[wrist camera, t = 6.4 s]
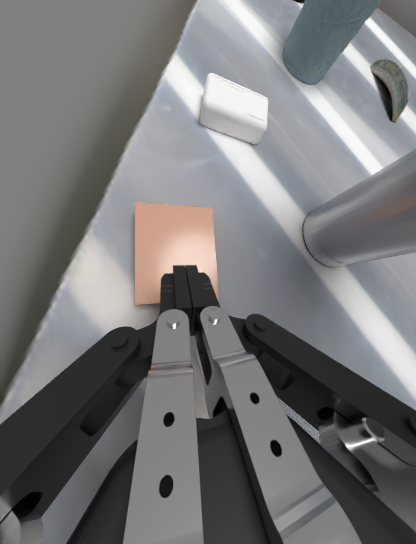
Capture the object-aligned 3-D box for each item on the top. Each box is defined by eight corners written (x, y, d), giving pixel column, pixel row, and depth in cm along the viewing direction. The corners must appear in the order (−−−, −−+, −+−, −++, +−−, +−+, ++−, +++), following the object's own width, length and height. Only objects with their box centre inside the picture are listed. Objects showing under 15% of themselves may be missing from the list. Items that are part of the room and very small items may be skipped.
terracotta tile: (218, 298, 16) (212, 208, 18) (135, 304, 14) (134, 202, 16) (212, 298, 19) (206, 218, 20) (139, 303, 17) (139, 214, 18)
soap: (198, 126, 22) (202, 101, 19) (203, 96, 23) (208, 67, 20) (256, 148, 24) (269, 128, 21) (259, 119, 25) (270, 96, 22)
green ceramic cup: (298, 35, 30) (379, -125, 19) (333, 77, 31) (432, -53, 19) (268, 52, 27) (341, -124, 16) (307, 98, 28) (404, -40, 17)
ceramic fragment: (367, 68, 35) (391, 41, 31) (383, 72, 37) (407, 47, 33) (385, 125, 34) (412, 104, 30) (400, 127, 35) (428, 107, 32)
